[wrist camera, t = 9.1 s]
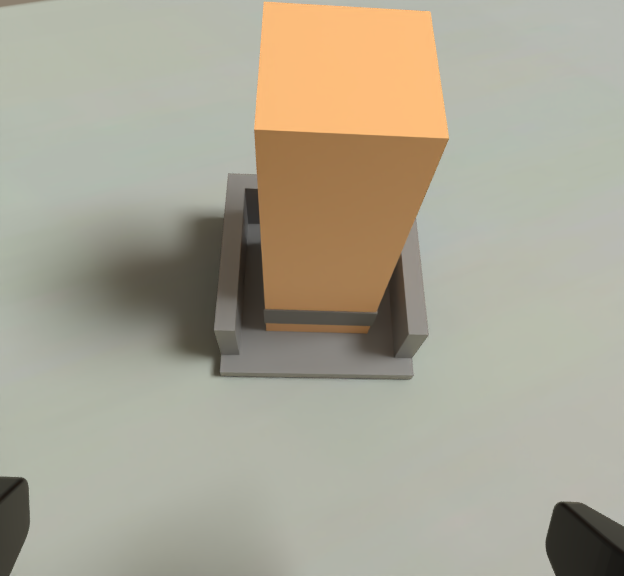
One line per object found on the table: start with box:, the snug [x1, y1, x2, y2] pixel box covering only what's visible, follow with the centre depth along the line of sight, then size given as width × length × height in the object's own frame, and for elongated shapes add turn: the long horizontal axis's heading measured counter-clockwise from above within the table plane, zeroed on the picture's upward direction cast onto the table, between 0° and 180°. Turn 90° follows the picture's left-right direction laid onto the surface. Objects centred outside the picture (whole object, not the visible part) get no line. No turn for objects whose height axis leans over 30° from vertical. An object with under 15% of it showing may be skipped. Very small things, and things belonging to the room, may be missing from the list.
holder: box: [214, 173, 429, 379], centre depth 20 cm, size 7×7×3 cm
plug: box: [254, 2, 449, 334], centre depth 16 cm, size 4×4×11 cm
